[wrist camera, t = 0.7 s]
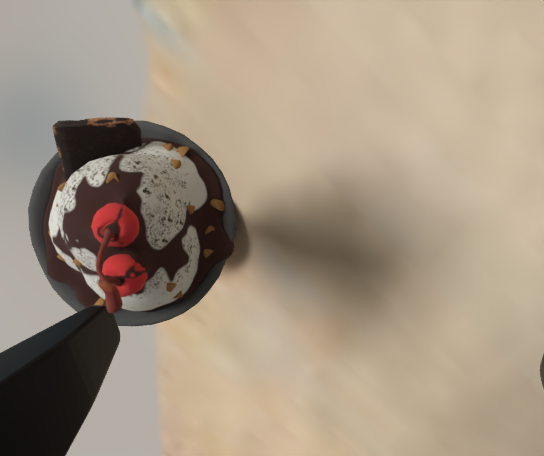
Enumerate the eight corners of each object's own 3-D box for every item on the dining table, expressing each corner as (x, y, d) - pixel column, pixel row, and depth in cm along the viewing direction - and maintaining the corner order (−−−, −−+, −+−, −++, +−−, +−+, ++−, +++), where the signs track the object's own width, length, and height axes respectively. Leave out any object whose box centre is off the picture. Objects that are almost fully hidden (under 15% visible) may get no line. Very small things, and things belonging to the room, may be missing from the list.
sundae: (230, 300, 24) (150, 429, 9) (117, 259, 24) (-153, 319, 9) (270, 188, 24) (257, 127, 9) (156, 148, 24) (-49, 18, 9)
